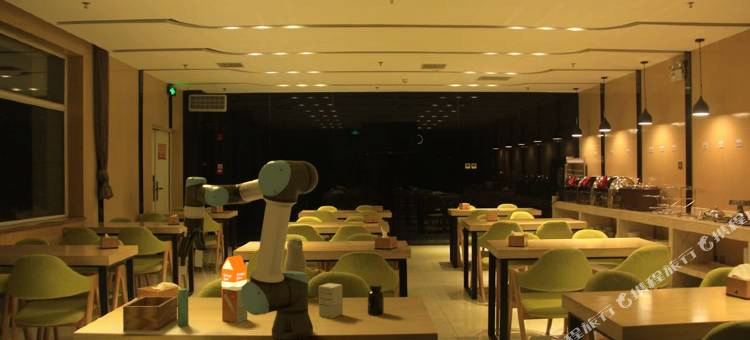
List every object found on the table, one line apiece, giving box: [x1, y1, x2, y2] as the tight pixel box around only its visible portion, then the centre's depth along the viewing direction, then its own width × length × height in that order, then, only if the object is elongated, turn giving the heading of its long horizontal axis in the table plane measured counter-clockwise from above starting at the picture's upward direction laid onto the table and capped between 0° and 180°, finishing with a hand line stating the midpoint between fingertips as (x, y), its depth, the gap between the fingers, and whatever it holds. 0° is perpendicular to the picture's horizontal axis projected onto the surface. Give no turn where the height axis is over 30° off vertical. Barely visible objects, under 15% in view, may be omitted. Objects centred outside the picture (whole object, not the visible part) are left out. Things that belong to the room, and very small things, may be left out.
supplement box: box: [318, 282, 344, 319], centre depth 241 cm, size 7×7×13 cm
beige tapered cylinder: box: [283, 237, 307, 274], centre depth 278 cm, size 10×10×28 cm
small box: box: [221, 286, 248, 324], centre depth 235 cm, size 8×6×13 cm
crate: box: [122, 295, 178, 331], centre depth 229 cm, size 14×18×9 cm
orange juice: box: [221, 254, 248, 290], centre depth 275 cm, size 8×9×20 cm
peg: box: [177, 288, 189, 328], centre depth 227 cm, size 4×4×14 cm
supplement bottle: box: [367, 283, 385, 316], centre depth 244 cm, size 7×7×12 cm
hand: (190, 270), depth 228 cm, fingers open, 13 cm apart
